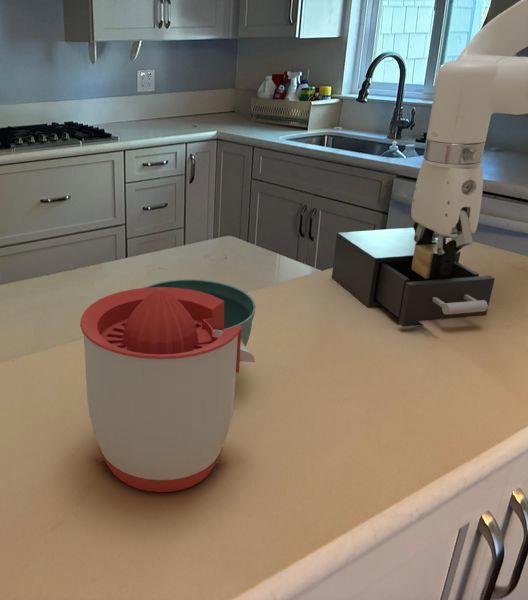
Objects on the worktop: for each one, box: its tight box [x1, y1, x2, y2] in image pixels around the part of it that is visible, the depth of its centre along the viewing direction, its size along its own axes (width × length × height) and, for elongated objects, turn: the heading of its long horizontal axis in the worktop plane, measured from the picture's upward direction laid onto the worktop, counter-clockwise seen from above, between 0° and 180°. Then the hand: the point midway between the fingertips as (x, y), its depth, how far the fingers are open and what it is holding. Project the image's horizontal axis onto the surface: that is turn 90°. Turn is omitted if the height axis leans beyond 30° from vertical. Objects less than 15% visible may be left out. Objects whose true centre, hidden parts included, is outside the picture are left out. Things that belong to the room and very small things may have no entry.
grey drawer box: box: [331, 227, 462, 309], centre depth 106 cm, size 14×15×9 cm
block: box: [411, 244, 437, 279], centre depth 94 cm, size 4×4×4 cm
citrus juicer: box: [79, 287, 256, 493], centre depth 63 cm, size 16×17×20 cm
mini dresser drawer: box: [374, 260, 496, 328], centre depth 95 cm, size 17×13×7 cm
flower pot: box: [143, 278, 257, 348], centre depth 80 cm, size 16×16×11 cm
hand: (430, 271), depth 95 cm, fingers closed on block, 4 cm apart
